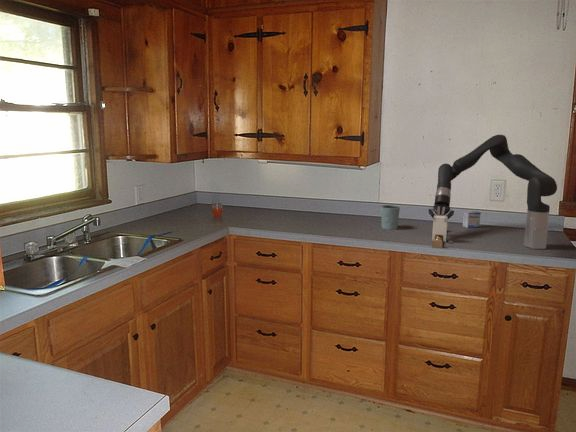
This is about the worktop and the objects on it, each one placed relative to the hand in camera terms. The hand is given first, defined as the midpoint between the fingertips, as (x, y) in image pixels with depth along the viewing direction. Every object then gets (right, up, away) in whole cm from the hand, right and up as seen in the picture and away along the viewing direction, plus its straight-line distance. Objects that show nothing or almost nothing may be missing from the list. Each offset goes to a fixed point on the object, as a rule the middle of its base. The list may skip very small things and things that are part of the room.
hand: (439, 226), depth 250 cm
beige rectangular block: (-1, -7, -2) cm, 7 cm away
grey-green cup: (-20, -2, +26) cm, 32 cm away
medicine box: (+26, -1, +29) cm, 39 cm away
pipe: (+3, -6, +2) cm, 7 cm away
